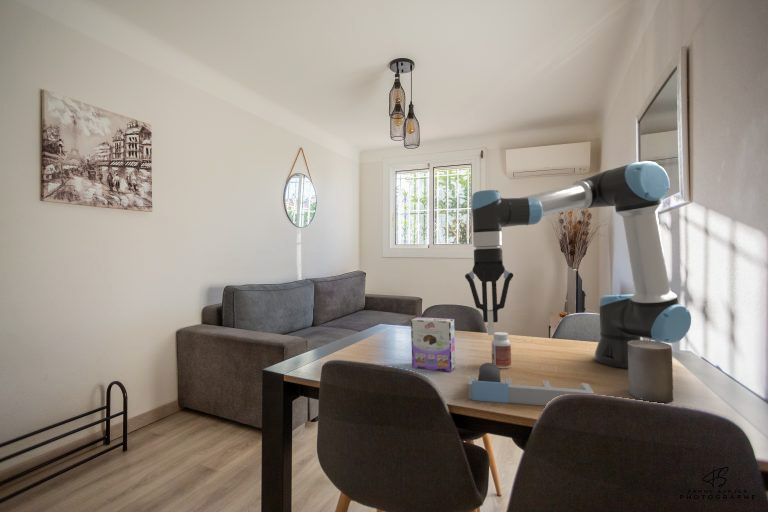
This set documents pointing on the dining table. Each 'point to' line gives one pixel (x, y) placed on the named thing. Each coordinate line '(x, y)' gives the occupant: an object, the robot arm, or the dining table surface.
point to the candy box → (433, 343)
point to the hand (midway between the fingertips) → (491, 333)
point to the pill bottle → (501, 350)
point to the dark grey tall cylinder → (489, 373)
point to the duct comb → (518, 392)
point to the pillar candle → (650, 370)
